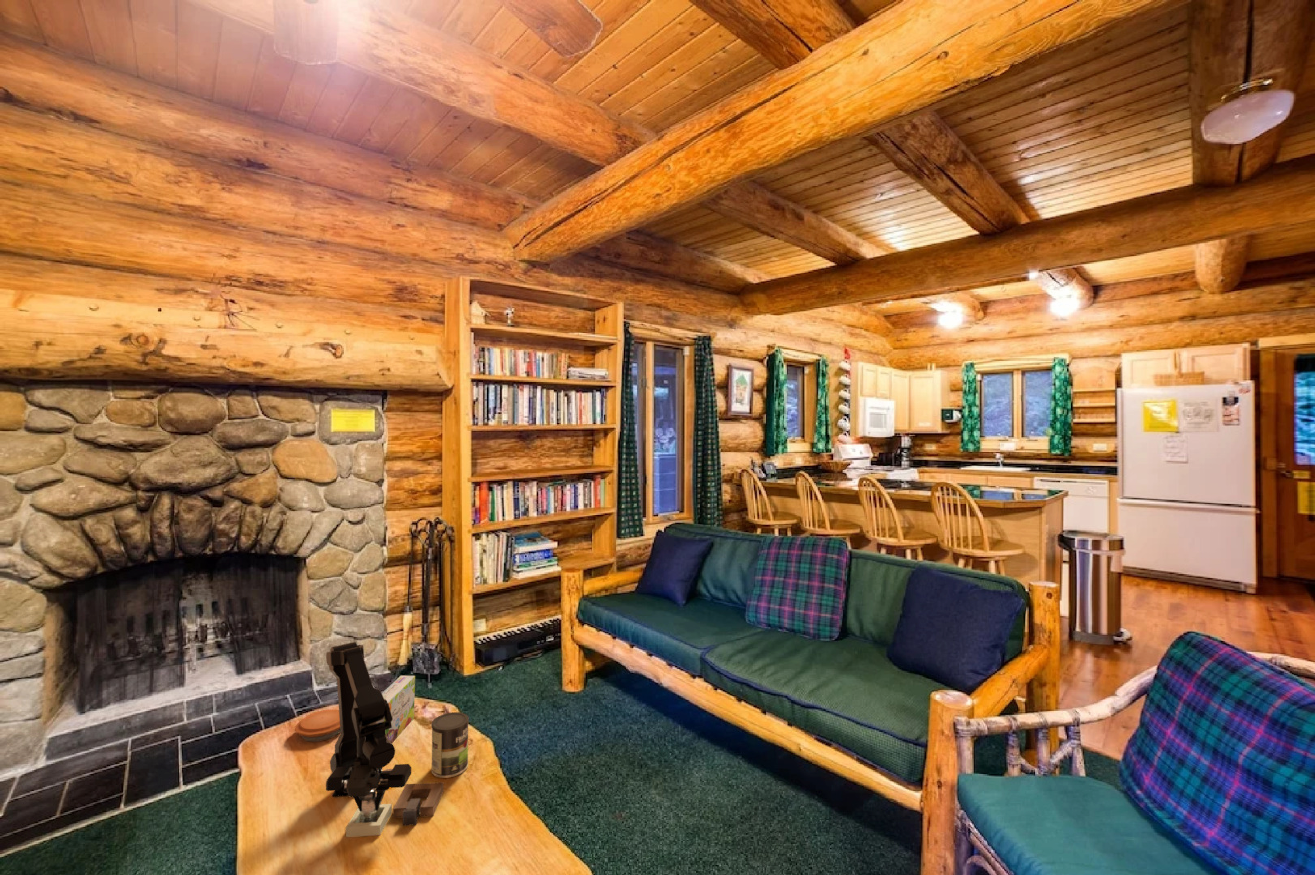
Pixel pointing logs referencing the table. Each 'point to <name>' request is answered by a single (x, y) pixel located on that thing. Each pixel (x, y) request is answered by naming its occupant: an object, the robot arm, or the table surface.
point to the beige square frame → (369, 823)
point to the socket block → (419, 791)
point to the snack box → (400, 705)
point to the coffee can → (449, 744)
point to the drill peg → (369, 807)
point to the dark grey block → (412, 812)
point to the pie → (319, 726)
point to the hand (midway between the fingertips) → (369, 810)
